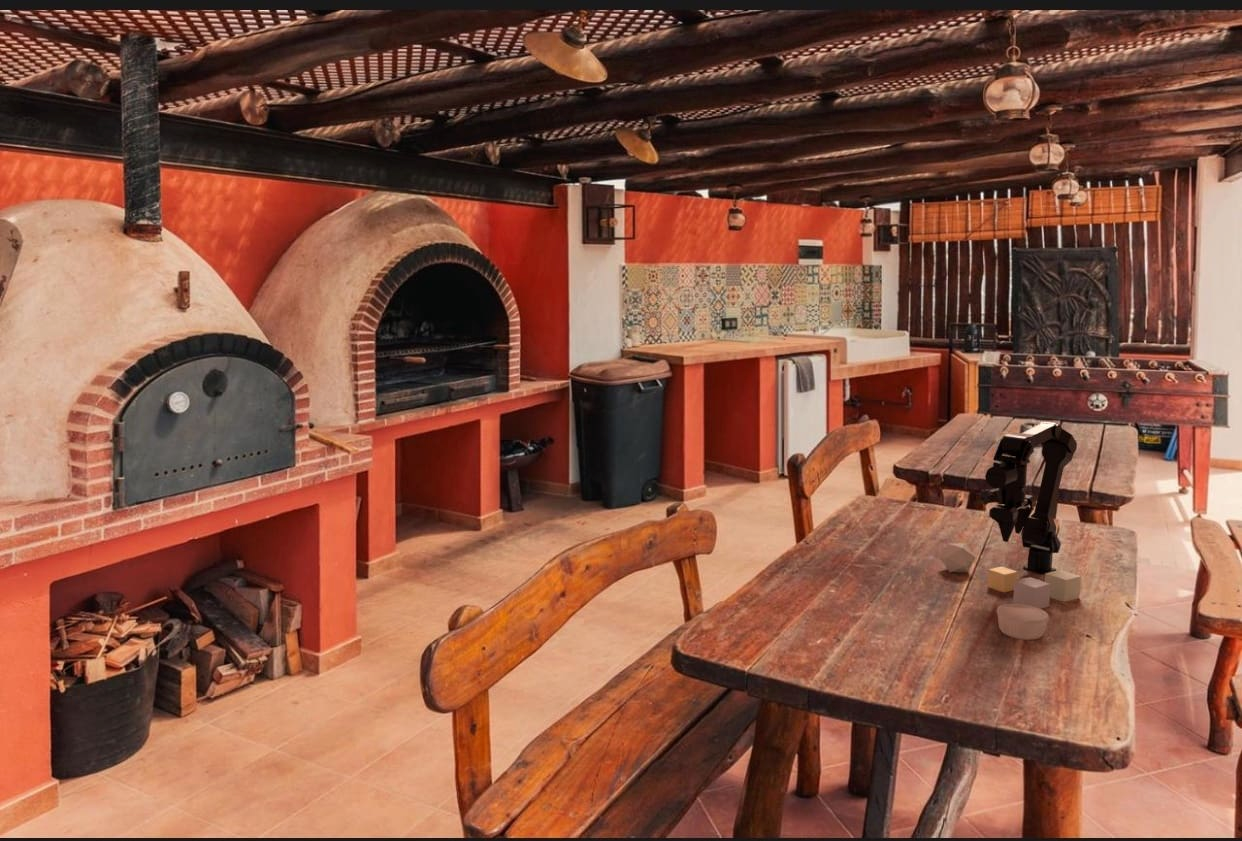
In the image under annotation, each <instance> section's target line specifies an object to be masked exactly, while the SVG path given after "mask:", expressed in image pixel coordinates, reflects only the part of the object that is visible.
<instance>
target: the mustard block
mask: <svg viewBox="0 0 1242 841" xmlns="http://www.w3.org/2000/svg"><path fill="white" fill-rule="evenodd" d="M987 579H988V581H987V587H988V588H990V589H993V590H996V591H998V592H1002V593H1008V592H1010V591H1014V582H1015V581H1016V580H1018V571H1017V570H1013V569H1010V568H1007V567H1004V566H999V567H993V568H989V569H988V578H987Z"/></svg>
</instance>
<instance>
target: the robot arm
mask: <svg viewBox="0 0 1242 841" xmlns="http://www.w3.org/2000/svg"><path fill="white" fill-rule="evenodd" d="M1038 446H1041V455H1042V459H1043V460H1044V463H1045V464H1044V469H1043V473H1042V477H1041V482H1040V486H1039V490H1038V495H1037V498H1035V496H1034V495H1030V494H1026V492H1027V491H1026V490H1028V489H1029V484H1027V472H1028V464H1030V463H1031V460H1030V457H1031V455H1032V454H1033V453H1034V450H1035V449H1034V448H1036V447H1038ZM1077 448H1078V443H1077V440H1076V439H1075V437H1074V436H1073V434H1072V433H1070V432H1068V431H1067V430H1066V429H1063V428H1062V426H1061V425H1060V424H1058V423H1057V422H1049V421H1048V422H1047V421H1041V422H1039V424H1038V425H1036V426H1034V427H1031V428H1029V429H1027V430H1025V431H1024V432H1021V433H1018V432H1017V433H1014V432H1013V433H1006V434H1005V435H1003V436H1002V437H1001V439H1000V441H999V443H998V445H997V449H996V451H995V453H994V456H993V462H992V466H991V467H990V468H988V469H987V470H986V473H985V474H984V475H985V476H984V477H985V481H986V483H987V484H988V485H989V486H990V487H991V488H992V489H989V488H988V489H982V490H981V491H980V493H979V494H978V497H979V498H978V500H979V501H980V502H982V505H983V506H986V505H988V504H992V503H997V504H996V505H994V506H992V507H991V508H989V514H988V515H989V516H988V517H989V518H991V519H992V520H994V521H995V522H996V523H997V525H998V526H999V527H998V528H999V531H1000V534H1001V537H1002V538H1001V539H1002V541H1003V542H1005V543H1007V542H1008V541H1009V540H1010V537H1011V535H1012V533H1013V530H1014V531H1015V534H1021V535H1020V536H1021V542H1022V547H1023V548H1027V549H1028V554H1027V563H1026V565H1023V566H1022V569H1025V570H1027V571H1031V572H1034V573H1037V574H1040V575H1045V573H1049V572H1053V571H1057V569H1056V568H1054V567H1052V566H1053V554H1059V551H1060V549H1061V545H1062V544H1061V541H1060V539H1059V537H1058V536H1057V524H1056V522H1055V520H1054V511H1055V508H1056V504H1057V499H1058V495H1059V490H1060V486H1061V485H1060V484H1061V481H1062V476H1063V472H1064V468H1065V467H1066V466H1067V465H1068V464H1069V463H1070V462H1071V461H1072V460H1073V458H1074V454H1075V453H1076V451H1077ZM1033 511H1034V512H1033ZM1032 512H1033V513H1032Z"/></svg>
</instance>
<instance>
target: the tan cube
mask: <svg viewBox="0 0 1242 841" xmlns="http://www.w3.org/2000/svg"><path fill="white" fill-rule="evenodd" d="M1081 580H1082V576H1081V575H1078V574H1075V573H1072V572H1069V571H1065V570H1061V569H1058V570H1056V571H1053V572H1049V573H1045V574H1044V582H1047V583H1050V584H1051V587H1050V599H1054V600H1057V601H1060V602H1063V603H1066V602H1069V601H1070V602H1071V601H1073V600H1078V599H1080V595H1081V594H1080V593H1081V592H1080V591H1081V590H1080V589H1081Z"/></svg>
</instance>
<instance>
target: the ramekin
mask: <svg viewBox="0 0 1242 841" xmlns="http://www.w3.org/2000/svg"><path fill="white" fill-rule="evenodd" d="M996 614H997V620H998V621H997V622H998V628H999V630H1000V631H1001V632H1002V633H1003V634H1004V635H1005V636H1008V637H1011V638H1014V639H1018V640H1025V641H1031V640H1037V639H1040V638H1041V637H1043V636H1044V634H1045V630H1046V627H1047V622H1048V621H1049V613H1047V611H1045V610H1043V609H1042V608H1041V609H1039V608H1036V607H1033V606H1028V605H1022V604H1015V603H1004V604H1001V605H999V606H998V607H996Z"/></svg>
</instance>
